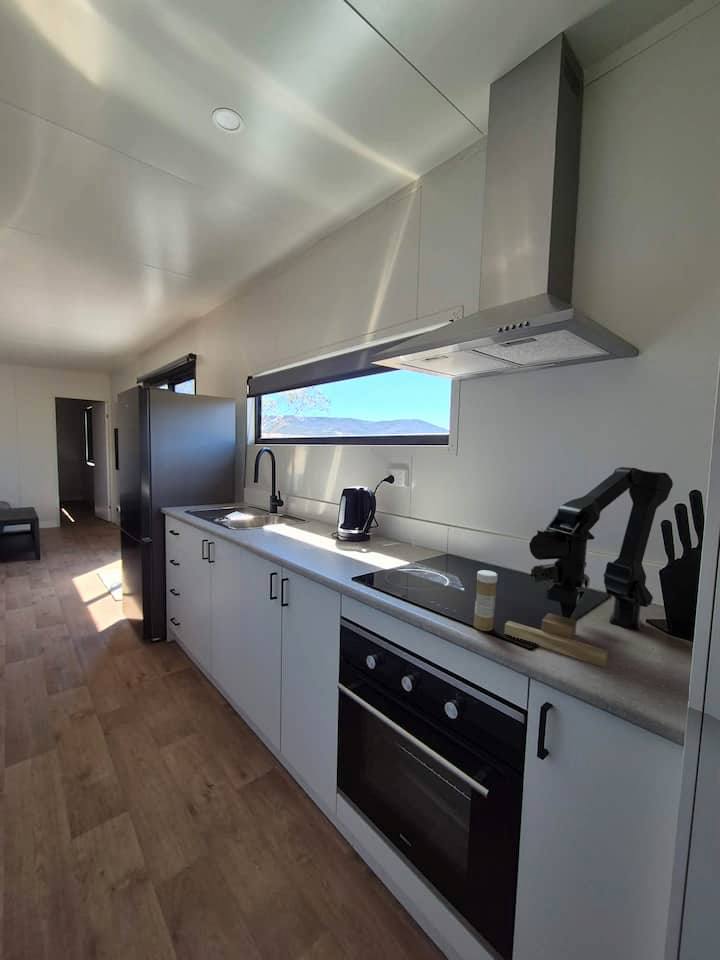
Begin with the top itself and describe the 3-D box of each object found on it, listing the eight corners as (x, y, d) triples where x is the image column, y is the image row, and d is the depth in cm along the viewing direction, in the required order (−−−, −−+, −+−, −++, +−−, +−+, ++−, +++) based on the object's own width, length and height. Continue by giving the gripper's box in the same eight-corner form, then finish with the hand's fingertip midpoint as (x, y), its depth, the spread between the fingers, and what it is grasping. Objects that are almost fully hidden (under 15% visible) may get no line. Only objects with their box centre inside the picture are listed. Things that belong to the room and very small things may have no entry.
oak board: (507, 630, 94) (508, 620, 94) (606, 662, 82) (607, 650, 82) (504, 634, 92) (505, 623, 92) (604, 667, 80) (605, 655, 80)
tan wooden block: (546, 633, 95) (548, 612, 94) (574, 641, 91) (576, 620, 91) (539, 641, 90) (541, 620, 90) (569, 651, 86) (571, 628, 86)
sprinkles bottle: (478, 621, 99) (482, 568, 98) (496, 628, 96) (501, 573, 95) (469, 627, 95) (474, 571, 94) (487, 633, 92) (492, 576, 91)
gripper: (545, 544, 108) (540, 601, 109) (525, 558, 93) (520, 623, 94) (592, 553, 101) (586, 613, 102) (579, 568, 86) (572, 638, 87)
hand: (566, 621), depth 97 cm, fingers closed
